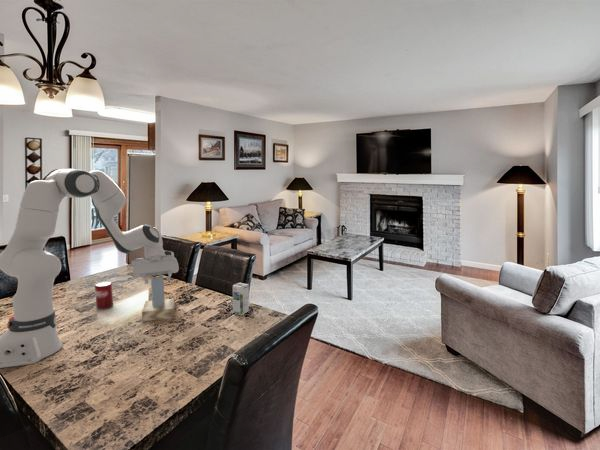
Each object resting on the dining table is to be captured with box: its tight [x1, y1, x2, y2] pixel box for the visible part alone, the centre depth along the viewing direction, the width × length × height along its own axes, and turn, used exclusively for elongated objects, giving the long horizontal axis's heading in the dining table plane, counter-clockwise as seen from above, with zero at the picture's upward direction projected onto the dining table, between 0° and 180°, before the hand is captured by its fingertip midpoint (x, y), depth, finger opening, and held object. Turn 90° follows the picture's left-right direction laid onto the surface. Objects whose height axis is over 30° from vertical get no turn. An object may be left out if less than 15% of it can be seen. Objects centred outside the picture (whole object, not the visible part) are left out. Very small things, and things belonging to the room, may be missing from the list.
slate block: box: [150, 276, 165, 308], centre depth 152 cm, size 5×5×13 cm
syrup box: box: [232, 282, 250, 316], centre depth 156 cm, size 6×6×14 cm
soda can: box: [94, 281, 114, 310], centre depth 160 cm, size 7×7×12 cm
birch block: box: [141, 298, 175, 322], centre depth 154 cm, size 13×13×5 cm
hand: (157, 282), depth 152 cm, fingers open, 8 cm apart
